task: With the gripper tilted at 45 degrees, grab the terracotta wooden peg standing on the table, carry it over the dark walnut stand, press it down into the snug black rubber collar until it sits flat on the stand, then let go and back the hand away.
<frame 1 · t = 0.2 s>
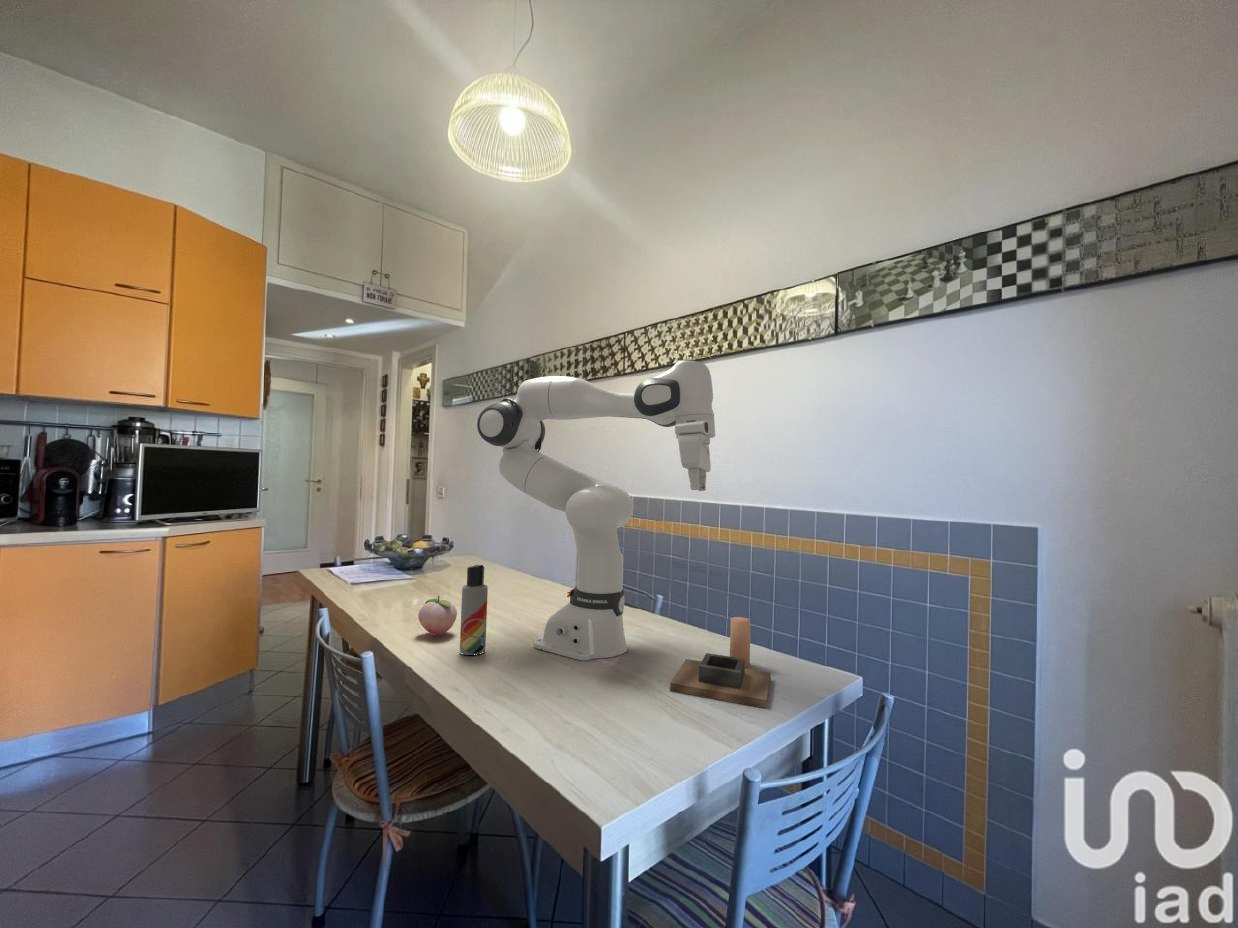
hand: (698, 490, 111), 39 cm above the table, tool pointing down, fingers open, 8 cm apart
collar stand: (721, 684, 98), on the table
decorative fruit: (438, 636, 123), on the table
lotion bottle: (472, 652, 112), on the table
peg: (739, 664, 110), on the table
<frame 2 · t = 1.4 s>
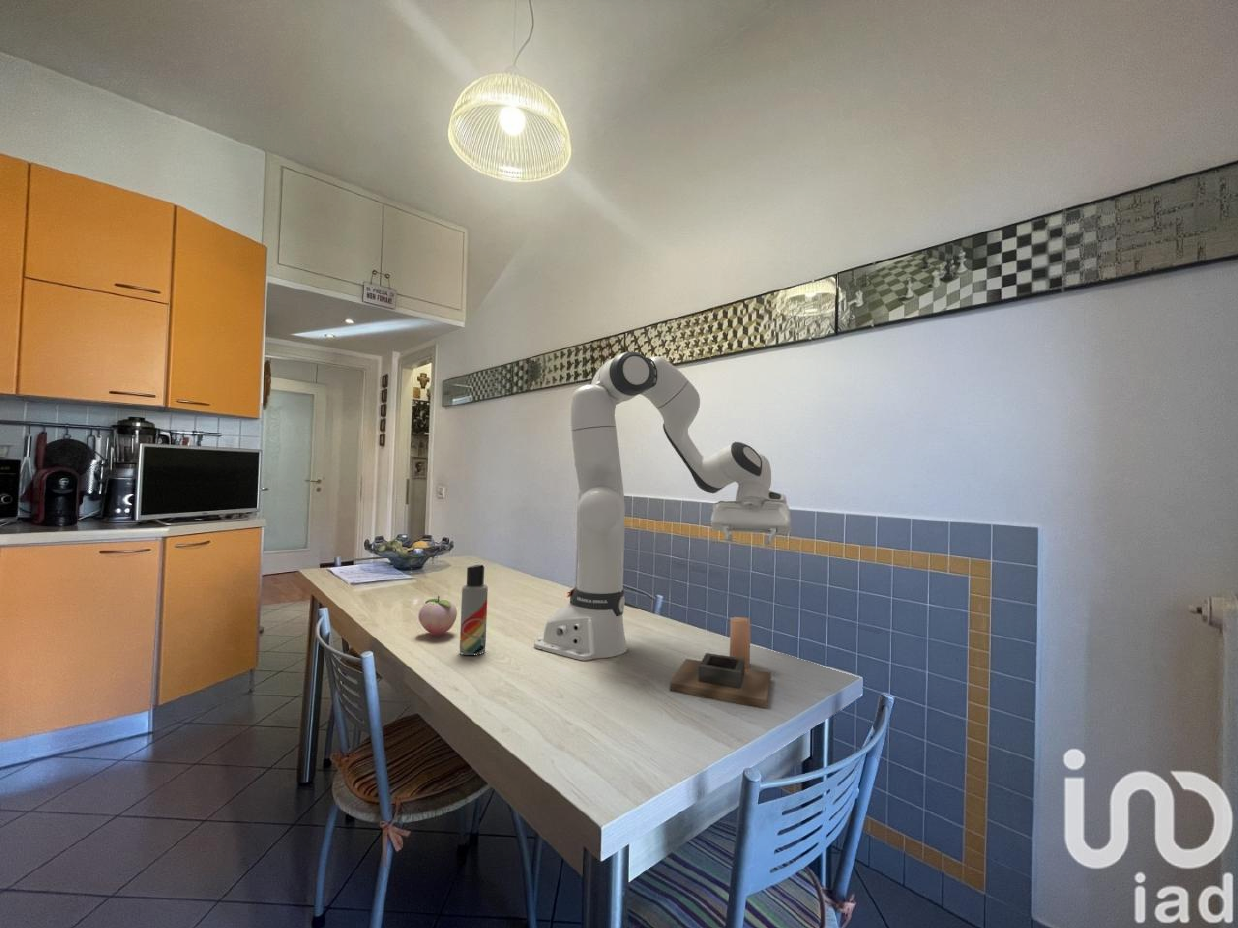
hand: (748, 542, 122), 26 cm above the table, tool tilted 45°, fingers open, 8 cm apart
nothing on the table moved.
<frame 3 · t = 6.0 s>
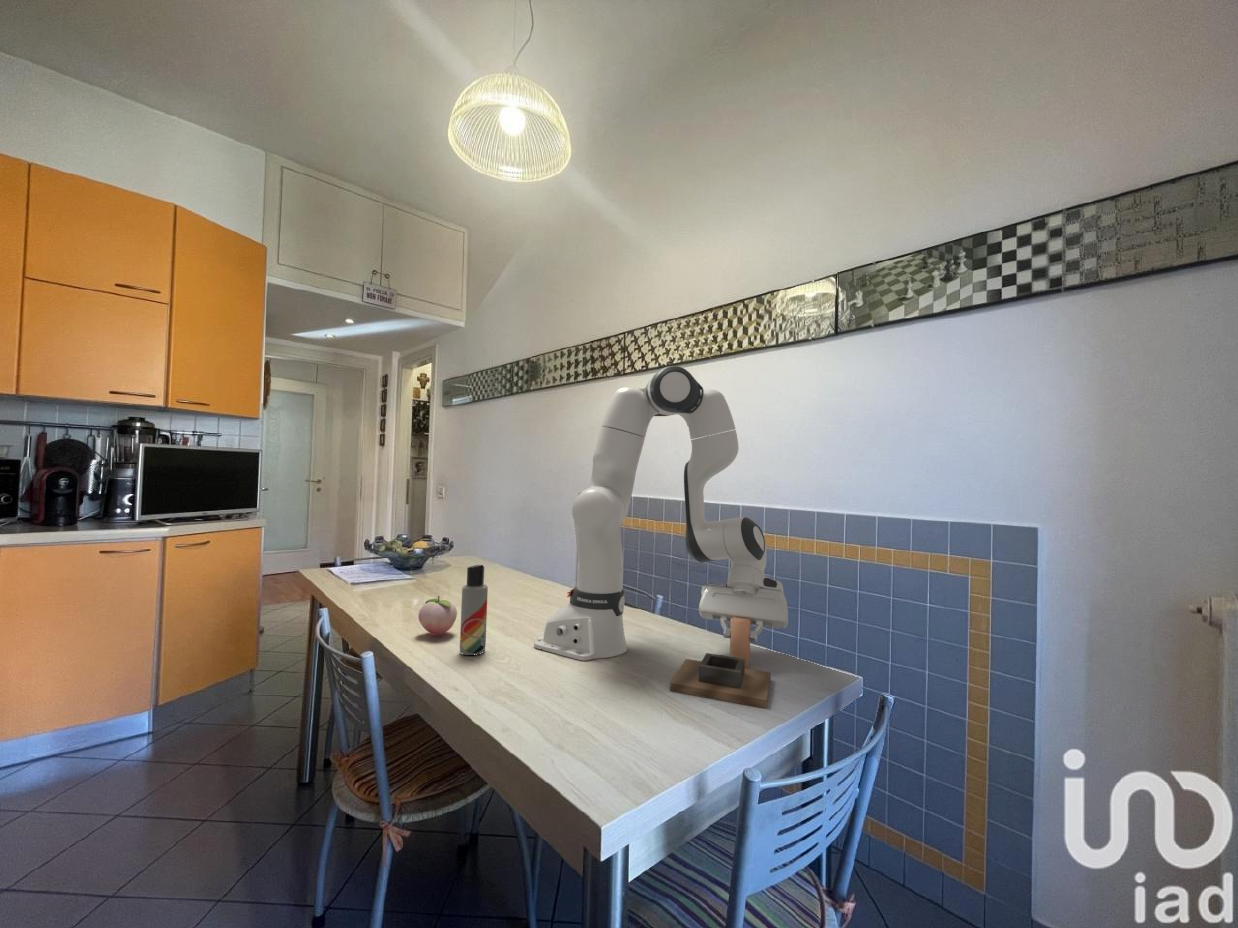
hand: (739, 638, 109), 6 cm above the table, tool tilted 45°, fingers closed on peg, 4 cm apart
peg: (739, 664, 110), on the table, touching gripper
everything else where it was.
when the fingers open (7 cm above the table, at t = 12.7 s): peg stays where it is, resting on collar stand.
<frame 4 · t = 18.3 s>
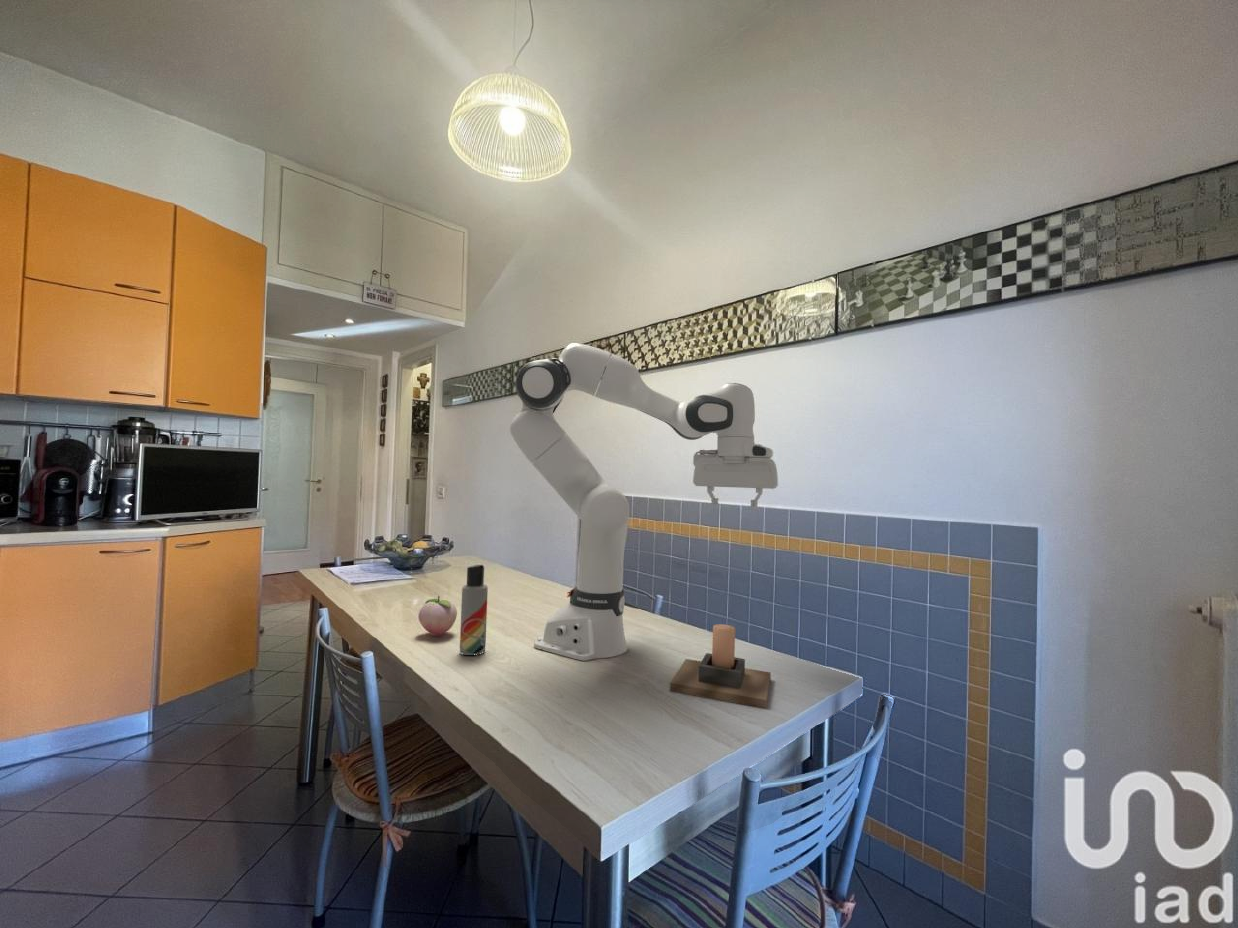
hand: (734, 506, 119), 35 cm above the table, tool pointing down, fingers open, 8 cm apart
peg: (722, 677, 98), point 2 cm above the table, touching collar stand
everything else where it was.
at the end: peg 0.1 cm off-centre on the collar stand, point 1.5 cm above the collar stand's base; peg tilted 0°; the gripper is holding nothing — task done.
